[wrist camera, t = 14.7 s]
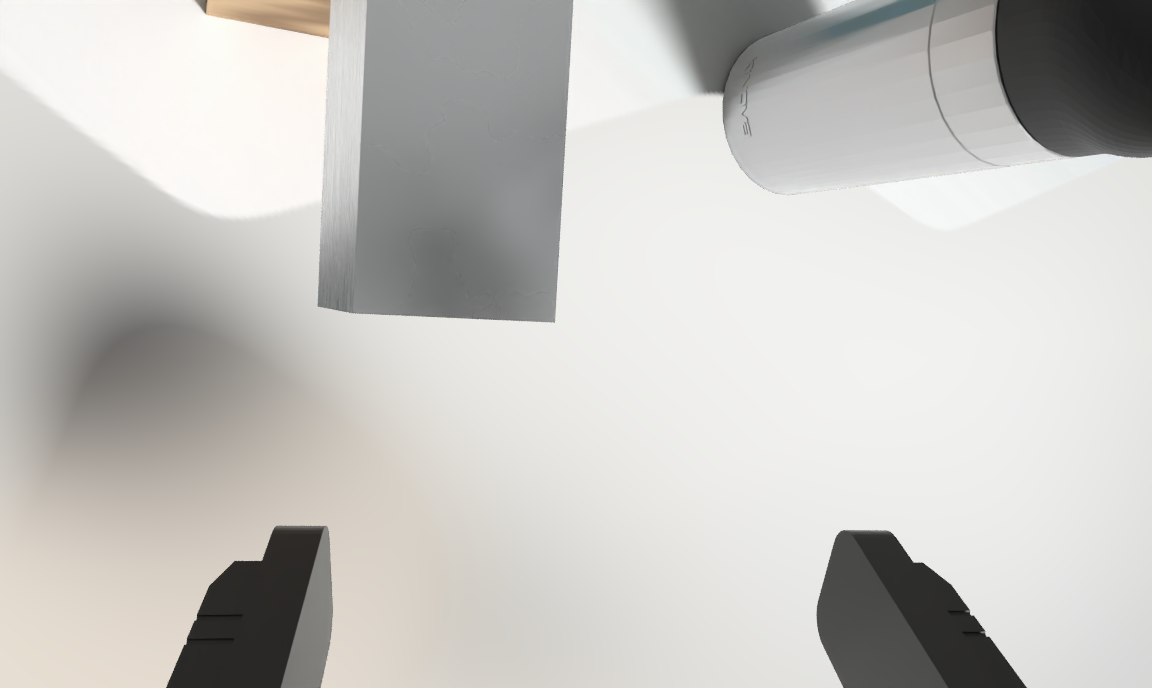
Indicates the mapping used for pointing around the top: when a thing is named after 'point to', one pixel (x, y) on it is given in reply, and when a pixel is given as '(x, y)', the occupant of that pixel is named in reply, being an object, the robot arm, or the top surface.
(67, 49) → the top surface
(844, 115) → the robot arm
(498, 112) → the grey rectangular bar
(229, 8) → the tall wooden block
